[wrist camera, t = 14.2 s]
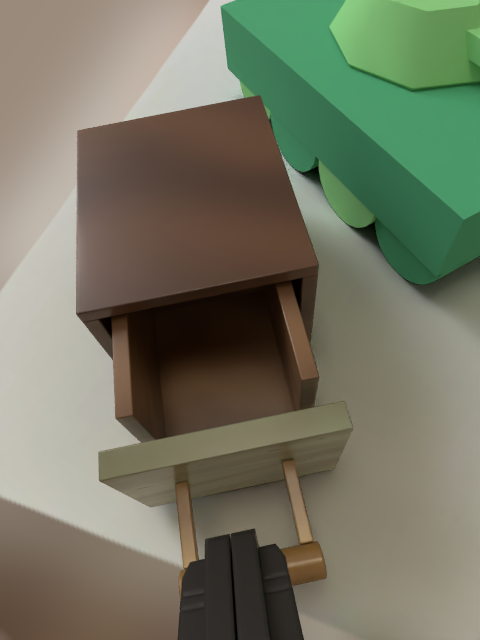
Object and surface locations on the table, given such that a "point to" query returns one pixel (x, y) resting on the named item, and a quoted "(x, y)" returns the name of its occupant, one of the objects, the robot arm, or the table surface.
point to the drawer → (222, 409)
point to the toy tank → (375, 114)
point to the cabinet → (186, 213)
